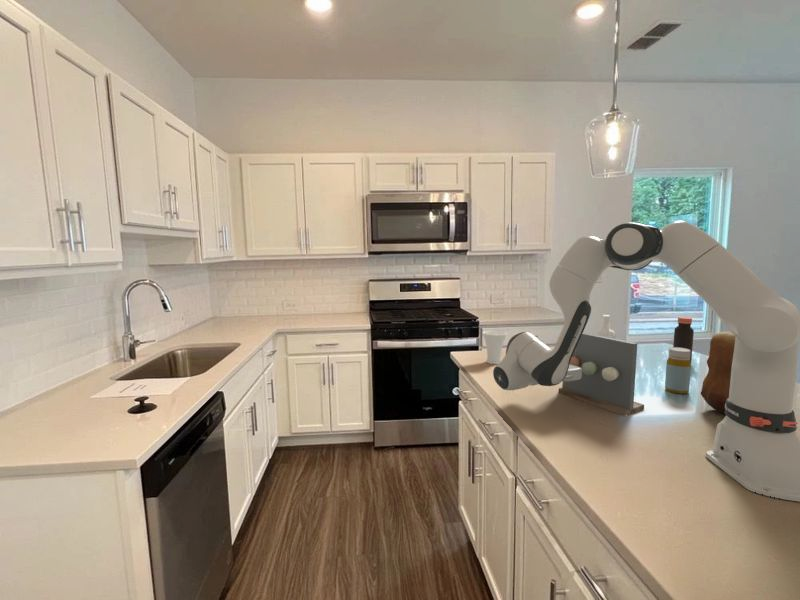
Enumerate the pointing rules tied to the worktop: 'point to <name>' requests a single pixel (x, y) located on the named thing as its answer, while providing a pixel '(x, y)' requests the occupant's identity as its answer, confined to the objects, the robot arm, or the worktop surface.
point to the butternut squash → (719, 370)
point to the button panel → (594, 386)
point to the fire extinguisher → (606, 328)
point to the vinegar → (684, 334)
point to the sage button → (589, 368)
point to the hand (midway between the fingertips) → (565, 363)
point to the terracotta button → (575, 361)
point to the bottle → (678, 370)
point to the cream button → (610, 373)
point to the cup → (494, 345)
